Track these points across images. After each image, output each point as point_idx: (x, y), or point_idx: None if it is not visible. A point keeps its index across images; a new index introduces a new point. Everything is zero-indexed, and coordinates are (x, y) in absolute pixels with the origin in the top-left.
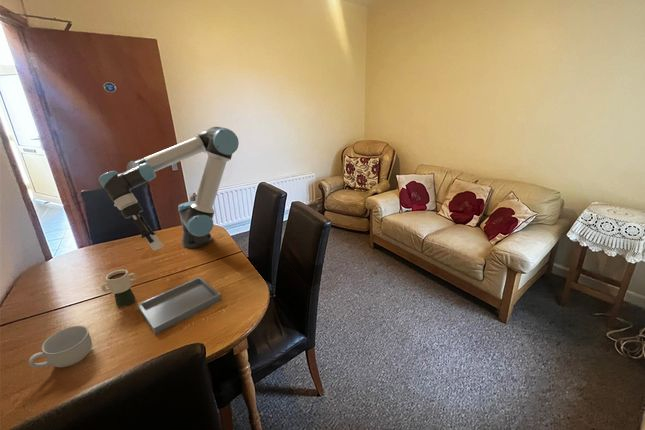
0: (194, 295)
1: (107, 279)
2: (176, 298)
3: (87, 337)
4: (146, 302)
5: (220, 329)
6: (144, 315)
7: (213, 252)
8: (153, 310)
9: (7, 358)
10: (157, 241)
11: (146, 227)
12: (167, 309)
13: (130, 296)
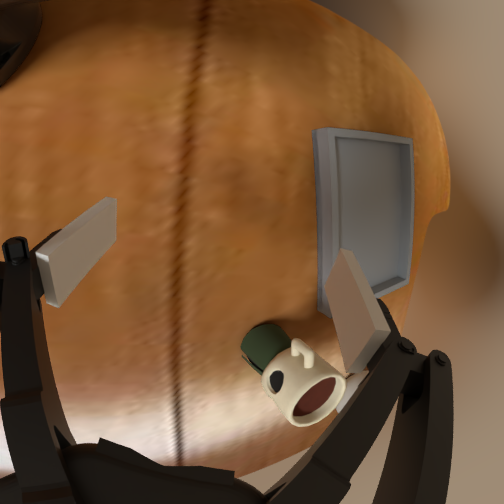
0: (365, 178)
1: (325, 416)
2: (349, 221)
3: None
4: None
5: (436, 184)
6: None
7: (132, 7)
8: None
9: (281, 459)
10: (88, 237)
11: (361, 405)
12: (368, 250)
13: (289, 338)
